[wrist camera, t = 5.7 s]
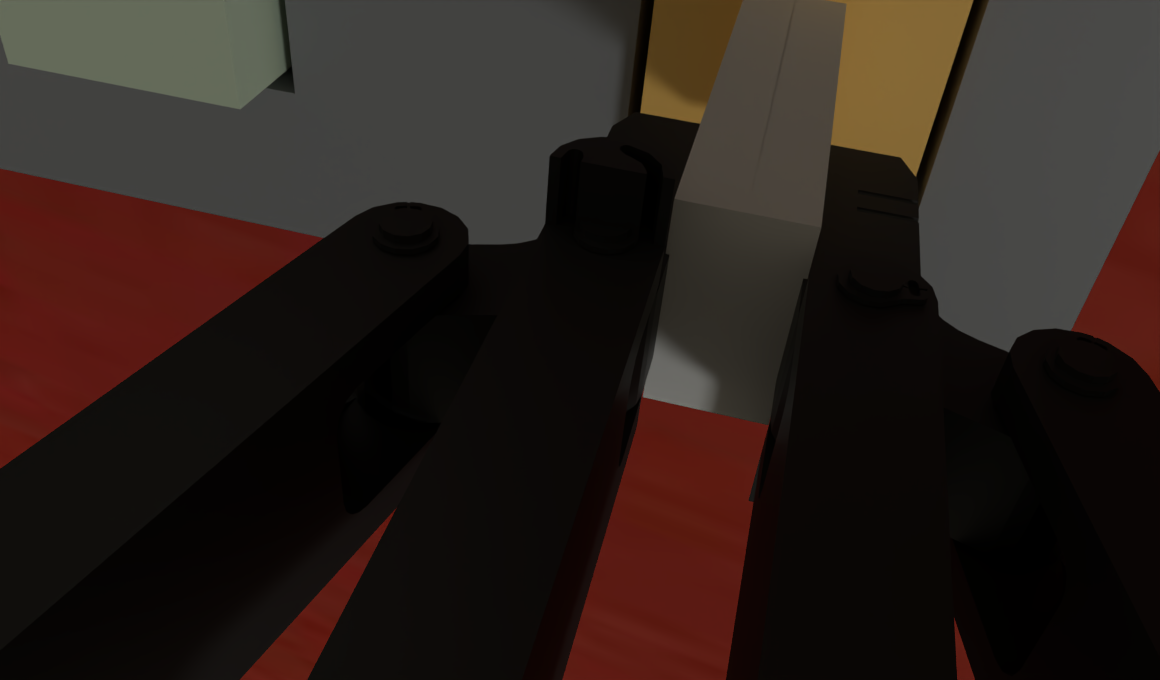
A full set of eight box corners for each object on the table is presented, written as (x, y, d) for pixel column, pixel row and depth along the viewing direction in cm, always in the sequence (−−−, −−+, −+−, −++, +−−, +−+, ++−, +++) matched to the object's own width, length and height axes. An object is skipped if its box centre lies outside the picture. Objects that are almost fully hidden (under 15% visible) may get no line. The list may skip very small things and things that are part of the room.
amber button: (664, 90, 20) (634, 158, 18) (701, -168, 17) (669, -125, 15) (904, 134, 20) (904, 210, 18) (986, -127, 17) (998, -75, 14)
